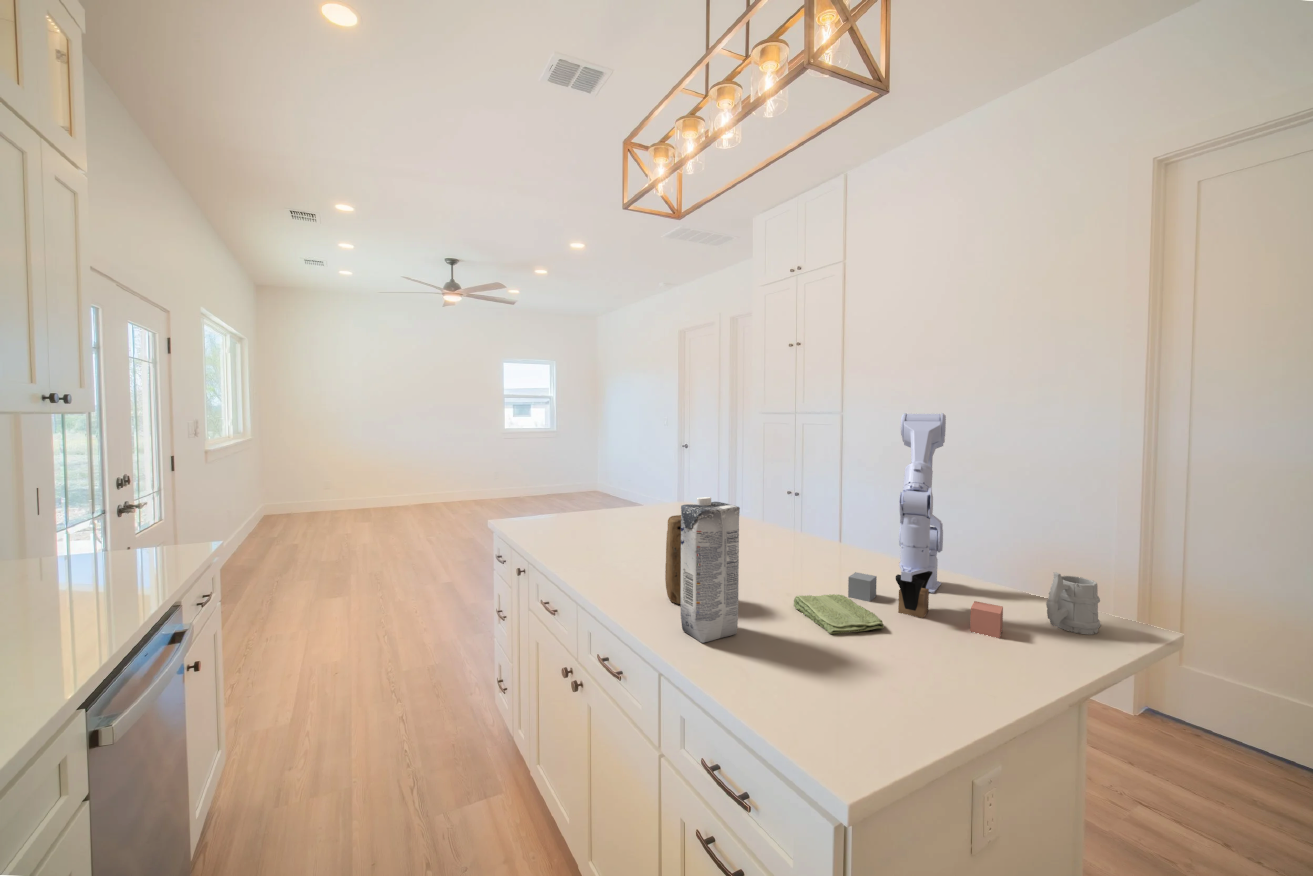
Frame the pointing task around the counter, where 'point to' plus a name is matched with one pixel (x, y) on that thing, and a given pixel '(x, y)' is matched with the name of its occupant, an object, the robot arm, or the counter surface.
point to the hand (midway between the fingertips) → (913, 605)
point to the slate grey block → (862, 586)
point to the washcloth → (837, 613)
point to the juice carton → (709, 569)
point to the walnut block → (921, 606)
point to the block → (673, 559)
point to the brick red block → (986, 619)
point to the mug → (1073, 604)
